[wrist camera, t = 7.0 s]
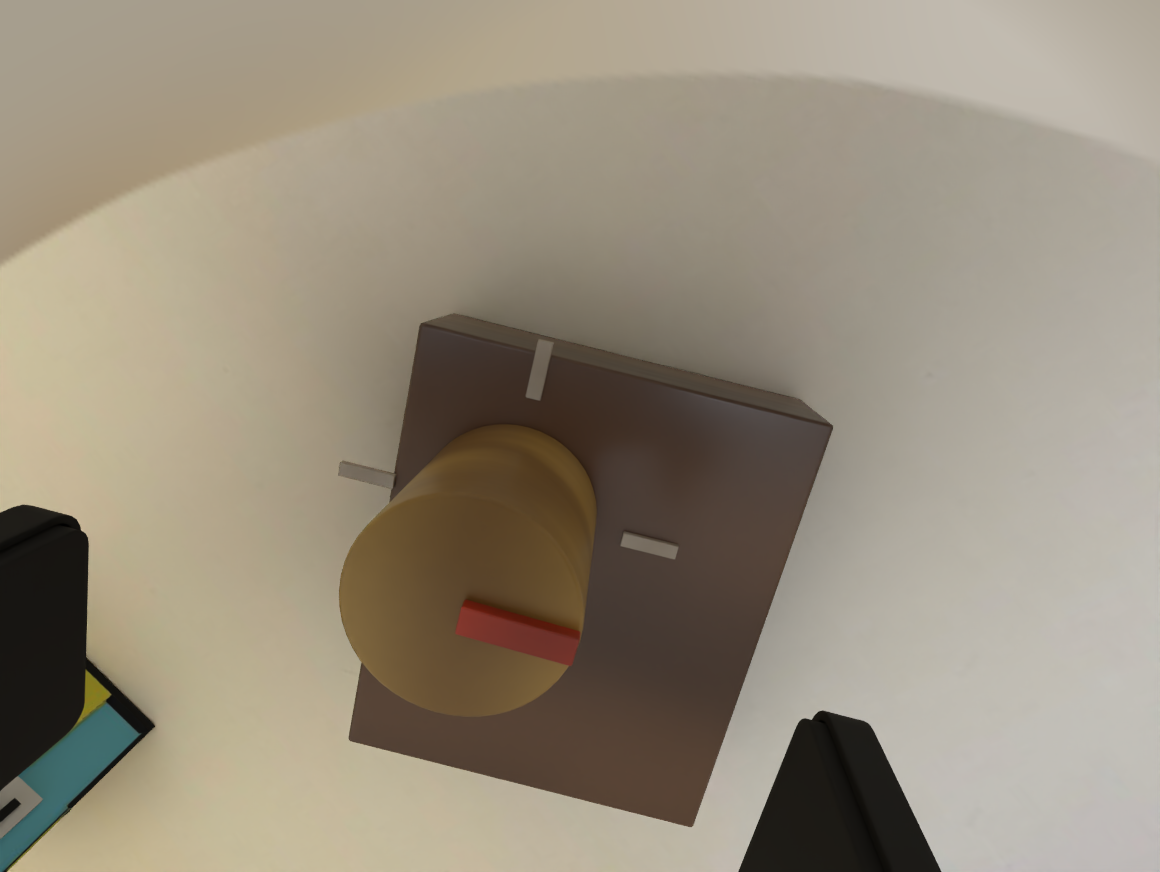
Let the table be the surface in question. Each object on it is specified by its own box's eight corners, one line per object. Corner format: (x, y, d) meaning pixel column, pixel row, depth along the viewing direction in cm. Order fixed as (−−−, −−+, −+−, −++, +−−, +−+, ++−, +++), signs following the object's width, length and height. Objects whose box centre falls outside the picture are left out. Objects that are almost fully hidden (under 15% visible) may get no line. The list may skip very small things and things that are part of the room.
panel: (408, 290, 18) (364, 296, 15) (806, 389, 18) (842, 415, 15) (345, 667, 22) (299, 734, 19) (684, 753, 22) (693, 834, 19)
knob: (406, 563, 17) (311, 691, 12) (441, 402, 16) (353, 467, 11) (571, 609, 17) (546, 758, 12) (617, 451, 16) (613, 540, 11)
